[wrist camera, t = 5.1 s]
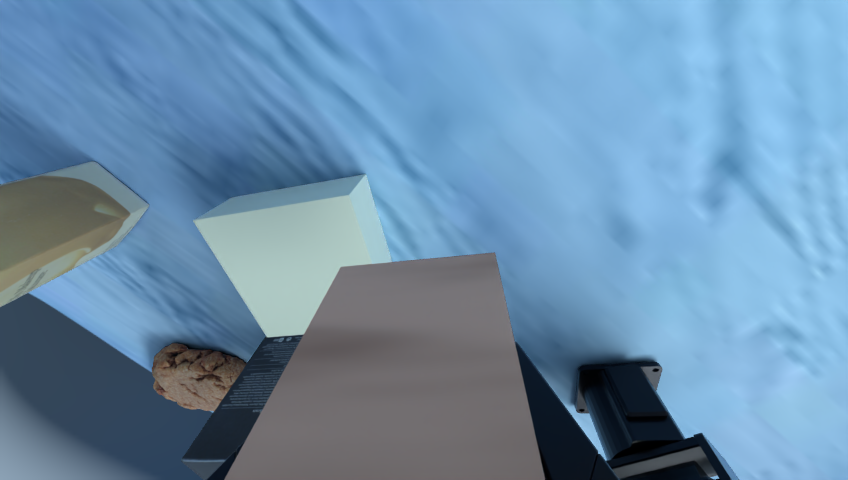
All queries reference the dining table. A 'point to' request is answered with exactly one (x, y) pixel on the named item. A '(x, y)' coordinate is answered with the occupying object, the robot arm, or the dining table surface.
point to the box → (240, 406)
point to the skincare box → (60, 224)
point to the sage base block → (294, 246)
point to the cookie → (194, 376)
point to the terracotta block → (401, 382)
